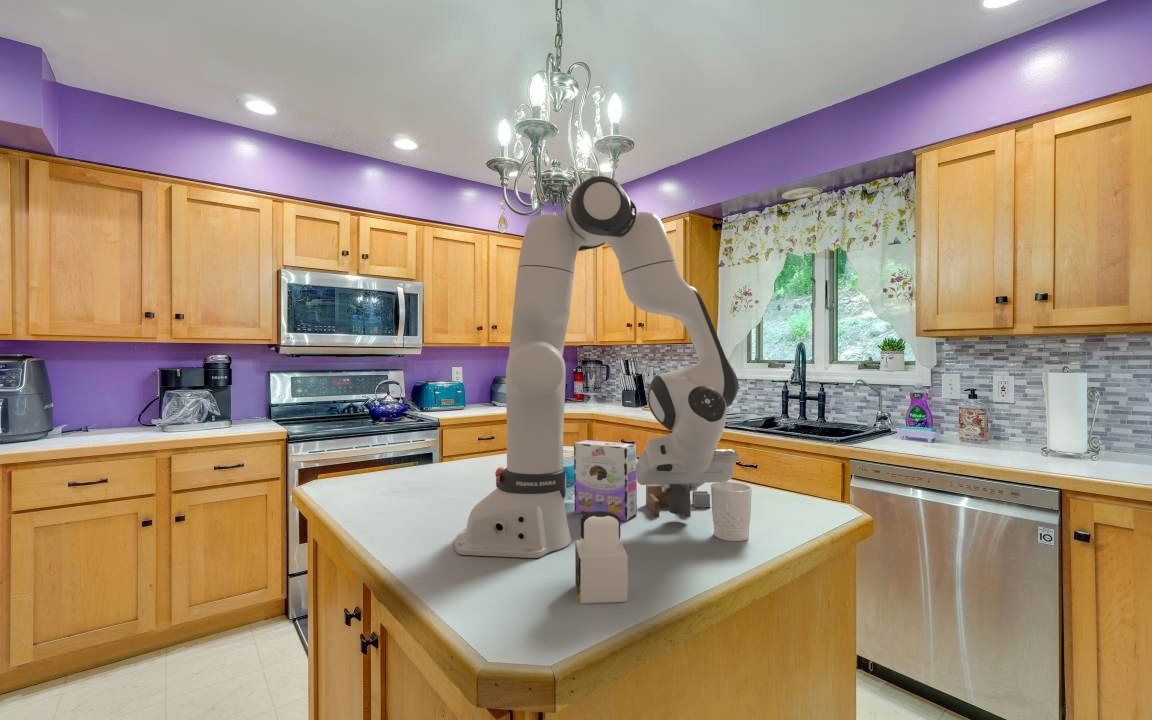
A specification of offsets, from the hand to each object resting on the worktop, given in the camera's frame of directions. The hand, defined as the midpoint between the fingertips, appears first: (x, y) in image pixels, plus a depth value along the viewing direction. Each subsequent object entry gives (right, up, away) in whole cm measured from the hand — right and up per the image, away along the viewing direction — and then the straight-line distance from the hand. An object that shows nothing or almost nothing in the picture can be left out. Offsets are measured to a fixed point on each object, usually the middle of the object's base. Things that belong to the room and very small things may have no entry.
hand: (678, 488), depth 117 cm
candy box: (-16, -7, +5) cm, 18 cm away
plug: (0, -5, -1) cm, 5 cm away
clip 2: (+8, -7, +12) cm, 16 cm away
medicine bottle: (-19, -7, -36) cm, 41 cm away
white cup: (+9, -7, -10) cm, 15 cm away
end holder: (-1, -7, +7) cm, 10 cm away
